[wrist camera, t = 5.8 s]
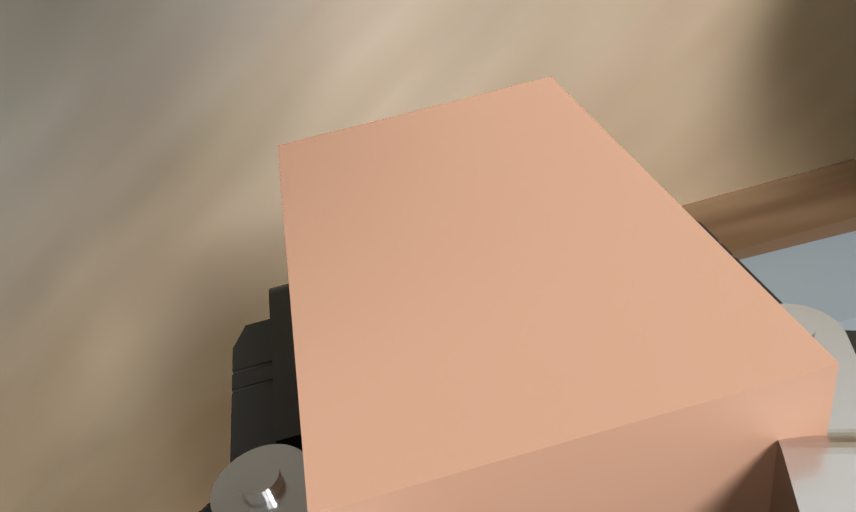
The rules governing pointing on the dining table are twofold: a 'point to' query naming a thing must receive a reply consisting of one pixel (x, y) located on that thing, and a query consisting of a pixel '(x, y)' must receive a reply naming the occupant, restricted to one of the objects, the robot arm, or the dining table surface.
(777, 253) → the tower top
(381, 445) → the terracotta block
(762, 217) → the tower base
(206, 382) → the dining table surface
